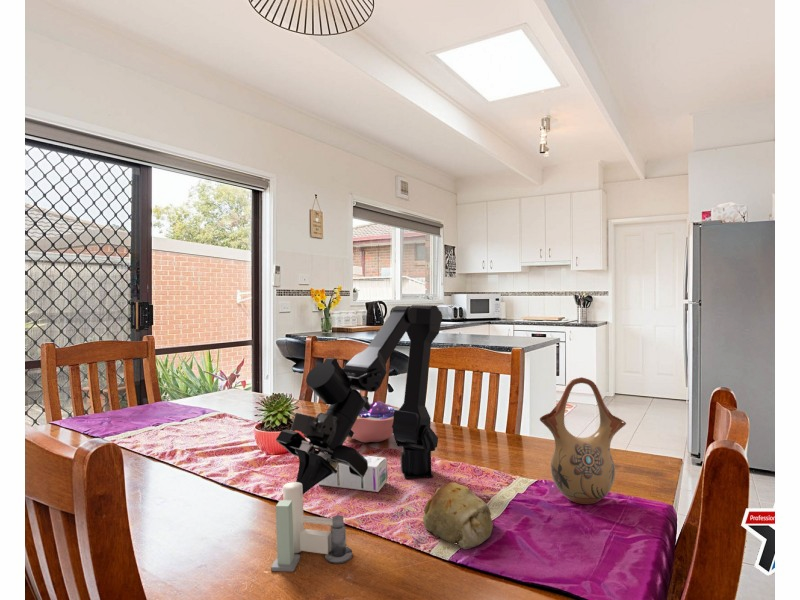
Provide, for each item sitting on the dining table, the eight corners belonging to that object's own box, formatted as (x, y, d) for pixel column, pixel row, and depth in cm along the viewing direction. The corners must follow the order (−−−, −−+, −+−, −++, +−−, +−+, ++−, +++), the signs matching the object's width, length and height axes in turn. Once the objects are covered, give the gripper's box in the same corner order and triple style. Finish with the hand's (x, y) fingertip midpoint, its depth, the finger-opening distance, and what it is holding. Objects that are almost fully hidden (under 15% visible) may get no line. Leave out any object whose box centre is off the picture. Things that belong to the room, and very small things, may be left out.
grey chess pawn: (352, 547, 82) (351, 518, 82) (352, 562, 78) (351, 532, 78) (325, 549, 82) (325, 520, 82) (324, 565, 77) (323, 534, 77)
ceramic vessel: (541, 507, 95) (540, 381, 94) (539, 487, 104) (538, 372, 103) (631, 514, 92) (631, 383, 91) (621, 493, 101) (620, 374, 100)
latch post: (278, 557, 80) (276, 497, 79) (300, 558, 79) (298, 498, 79) (270, 570, 76) (269, 508, 76) (293, 571, 76) (291, 508, 75)
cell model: (362, 426, 151) (361, 390, 151) (415, 437, 139) (414, 398, 139) (323, 441, 137) (322, 402, 137) (378, 455, 126) (377, 412, 125)
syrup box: (317, 485, 108) (378, 494, 103) (317, 459, 107) (378, 467, 103) (329, 475, 113) (388, 482, 108) (328, 450, 113) (387, 457, 108)
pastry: (422, 511, 95) (421, 471, 95) (485, 510, 95) (485, 470, 95) (424, 551, 81) (423, 504, 81) (499, 550, 81) (499, 503, 80)
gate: (347, 549, 81) (345, 486, 81) (340, 560, 78) (338, 495, 78) (290, 542, 84) (288, 481, 83) (281, 552, 81) (279, 489, 80)
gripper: (283, 387, 92) (233, 462, 84) (356, 402, 81) (308, 490, 73) (314, 418, 99) (271, 490, 91) (385, 436, 88) (344, 520, 80)
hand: (295, 496), depth 83 cm, fingers closed, pressing on gate
